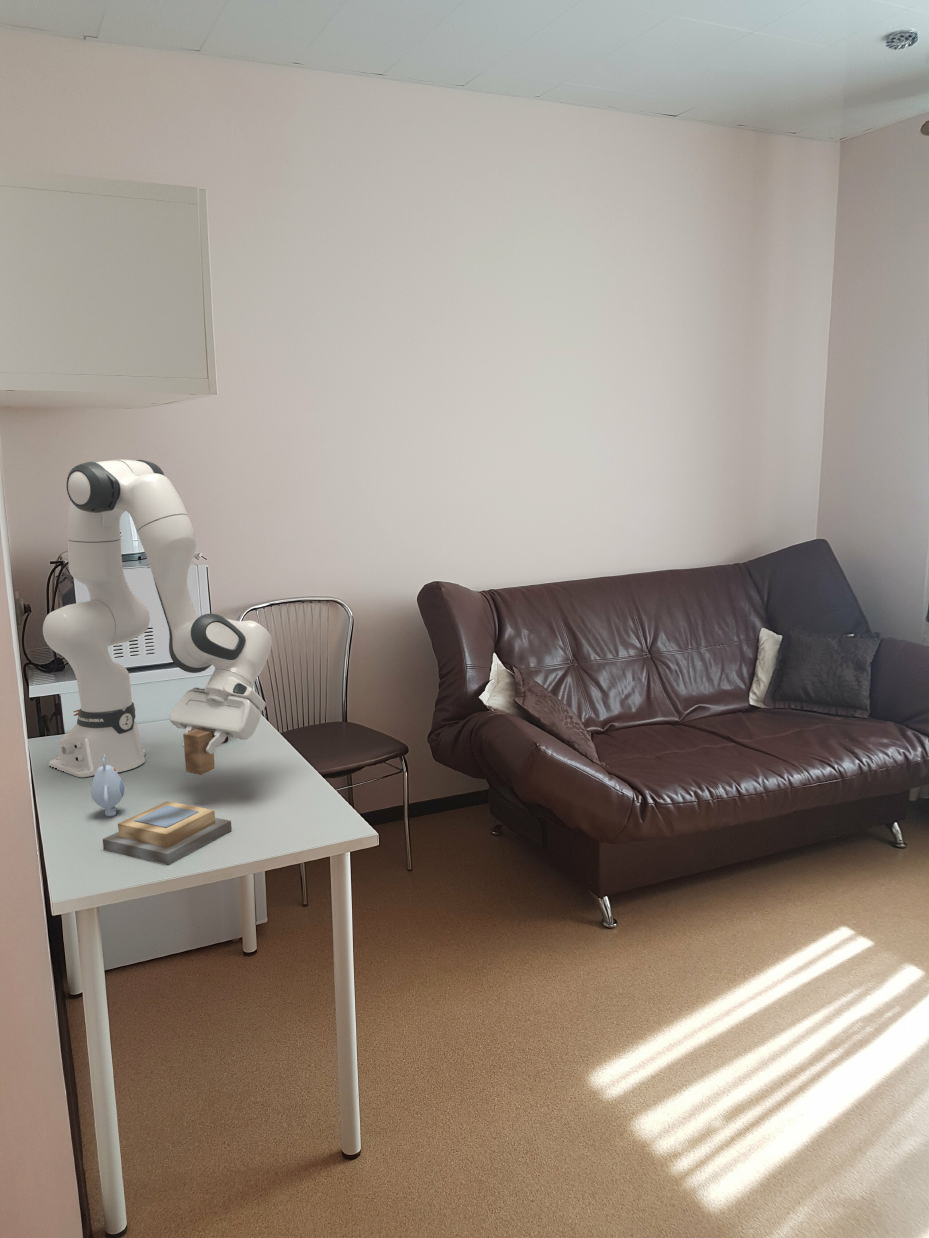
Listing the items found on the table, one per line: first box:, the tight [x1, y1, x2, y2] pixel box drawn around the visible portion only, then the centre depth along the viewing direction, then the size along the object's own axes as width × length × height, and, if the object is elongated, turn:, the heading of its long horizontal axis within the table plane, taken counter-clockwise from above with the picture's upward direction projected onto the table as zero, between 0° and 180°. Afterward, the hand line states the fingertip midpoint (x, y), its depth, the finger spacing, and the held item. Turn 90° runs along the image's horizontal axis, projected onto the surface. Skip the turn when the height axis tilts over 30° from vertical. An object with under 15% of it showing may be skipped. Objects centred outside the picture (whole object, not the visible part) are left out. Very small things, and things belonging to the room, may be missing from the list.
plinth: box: [102, 800, 232, 866], centre depth 168 cm, size 16×16×5 cm
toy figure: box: [90, 754, 125, 817], centre depth 182 cm, size 11×6×12 cm, turn 17°
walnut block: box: [182, 729, 216, 776], centre depth 185 cm, size 4×4×8 cm
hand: (196, 750), depth 184 cm, fingers closed on walnut block, 4 cm apart
